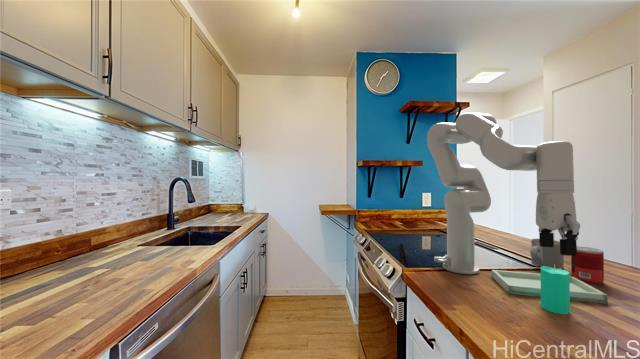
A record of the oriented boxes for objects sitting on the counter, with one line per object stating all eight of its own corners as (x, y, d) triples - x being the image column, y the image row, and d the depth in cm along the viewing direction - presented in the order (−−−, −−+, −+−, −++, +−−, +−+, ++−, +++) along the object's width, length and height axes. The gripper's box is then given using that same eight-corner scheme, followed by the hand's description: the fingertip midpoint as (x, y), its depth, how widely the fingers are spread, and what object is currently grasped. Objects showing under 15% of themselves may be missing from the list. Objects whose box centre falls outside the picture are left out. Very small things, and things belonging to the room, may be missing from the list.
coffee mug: (546, 261, 113) (546, 238, 113) (570, 269, 103) (570, 243, 103) (518, 262, 112) (517, 238, 112) (539, 270, 102) (539, 244, 102)
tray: (509, 293, 80) (508, 285, 80) (491, 276, 95) (491, 269, 95) (607, 303, 74) (607, 295, 74) (572, 283, 88) (572, 276, 88)
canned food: (610, 285, 87) (610, 252, 87) (582, 283, 89) (582, 251, 89) (591, 277, 94) (591, 246, 95) (565, 275, 96) (565, 245, 96)
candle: (534, 303, 74) (534, 261, 74) (554, 303, 74) (553, 260, 74) (555, 314, 68) (555, 268, 68) (576, 313, 68) (576, 267, 68)
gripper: (523, 187, 80) (525, 243, 80) (557, 187, 64) (559, 258, 63) (553, 187, 78) (554, 244, 78) (595, 187, 62) (598, 260, 61)
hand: (556, 250), depth 71 cm, fingers open, 9 cm apart
